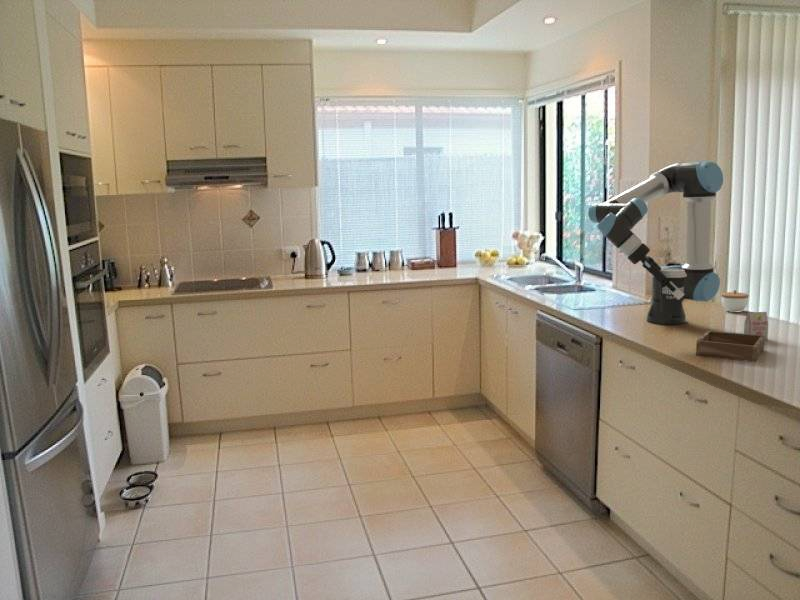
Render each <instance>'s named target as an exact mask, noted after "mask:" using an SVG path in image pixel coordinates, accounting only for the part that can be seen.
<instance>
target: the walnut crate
mask: <svg viewBox="0 0 800 600" xmlns="http://www.w3.org/2000/svg"><path fill="white" fill-rule="evenodd" d="M764 339H765V336H761V335H750V334H744V333H739V332H738V333H737V332H727V331H726V332H725V331H714V330H707V331H706V332H705V333H704V334H702V335H701V336H700V337H699V338H698V339H697V340H696V346H695V355H696V356H698V355H702V356H701V357H707V356H712V357H711V358H716V357H720V358H719V359H725V358H728V359H727V360H734V359H738V360H737V361H743V360H747V361H746V362H752V361H755V362H754V363H756V362H757V361H756V360H758V359H759V358H760V356H761V355H762V354H763V352H764V351H763V350H765V340H764ZM758 357H759V358H758Z"/></svg>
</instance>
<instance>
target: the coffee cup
mask: <svg viewBox="0 0 800 600" xmlns="http://www.w3.org/2000/svg"><path fill="white" fill-rule="evenodd" d="M660 271H661V272H662V273H663V274H664V275H665V276H666V277H667V278H668V280H670V281H671V282H672V283H673V284H674V285H675V286H676V287H678V288H679V289H680V290H681V291H682V292H683V291H684V284H685V277H687V274H686V273H685V270H684V269H675V268H667V269H661V270H660ZM659 284H660V301H661V312H663V313H669V314H676V313H681V306H682V305H683V300H684V299H683V297H682V298H680V299H679V300H678V299H677V298H676V297H675V296H674V295H673V294H672V293H671V292H670V291H669V290H668V289H667V288H666V287H664V288H663V287H662V284H661V283H660V282H659Z"/></svg>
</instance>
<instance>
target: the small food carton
mask: <svg viewBox="0 0 800 600" xmlns="http://www.w3.org/2000/svg"><path fill="white" fill-rule="evenodd" d="M743 325H744V327H743V334H750V335H761V336H765V339H764V341H767V340H768V335H769V320H768V312H767V311H752V312H751V311H749V312H747V313H746V317H745V320H744V323H743Z"/></svg>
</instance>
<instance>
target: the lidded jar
mask: <svg viewBox="0 0 800 600" xmlns="http://www.w3.org/2000/svg"><path fill="white" fill-rule="evenodd" d="M720 295H721V305H722V308H723V309H724V310H725V311H726V310H728V311H741V310H742V311H744V310H745V309H746V307H747V305H748V301H749V294H748V293H747V292H746V293H745V292H737V290H736V289H734V290H733V291H727V292H723V293H721V294H720Z"/></svg>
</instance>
